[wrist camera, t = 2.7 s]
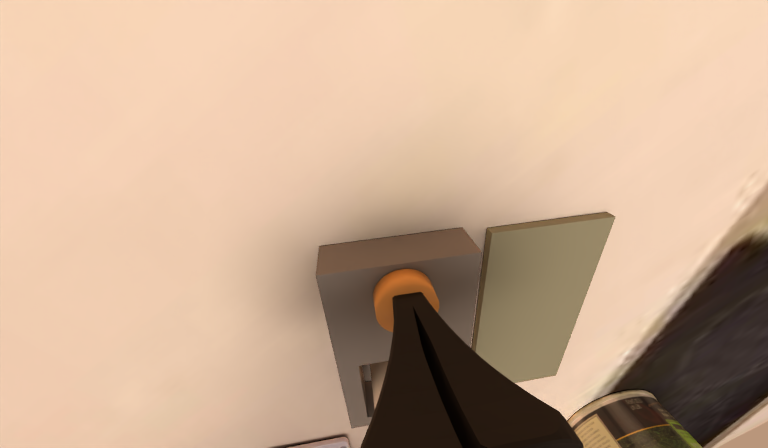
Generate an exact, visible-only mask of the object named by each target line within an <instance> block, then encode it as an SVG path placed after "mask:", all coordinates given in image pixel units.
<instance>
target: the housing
mask: <svg viewBox="0 0 768 448" xmlns="http://www.w3.org/2000/svg"><path fill="white" fill-rule="evenodd" d="M481 256H482V252H481V251H480V249H479V248H478V247H477V246H476V244H475V243H474V242H473V240H472V239H471V238H470V237H469V235H468V234H467V233H466V232H465V230H464V229H463V228H455V229H448V230H440V231H432V232H425V233H417V234H409V235H402V236H394V237H387V238H379V239H371V240H364V241H356V242H348V243H341V244H333V245H325V246H319V253H318V262H317V270H316V278H317V283H318V287H319V291H320V295H321V300H322V304H323V308H324V312H325V317H326V321H327V325H328V329H329V334H330V338H331V342H332V347H333V351H334V355H335V359H336V364H337V368H338V372H339V376H340V381H341V385H342V389H343V393H344V398H345V402H346V406H347V410H348V415H349V419H350V423H351V428H356V427H361V426H366V425H370V422H371V419H372V417H373V414H374V411H375V408H374V399H373V389H372V381H369V382H365V381H364V375H363V369H362V365H367V364H373V363H379V362H385V361H389V356H390V350H391V343H392V337H393V332H390V331H388V330H386V329H384V328H383V327H381V325H380V324H379V323H378V321H377V319H376V313H375V307H374V300H373V291H374V288H375V286H376V284H377V283H378V282H379V280H380V279H381V278H383V277H384V276H385V275H387V274H389V273H390V272H393V271H396V270H400V269H414V270H418V271H420V272H422V273H424V274H425V275H426V276H427V277H428V278H429V279H430V281H431V284H432V286H433V288H434V291H435V293H436V295H437V297H438V300H439V310H438V314H439V315H440V316H441V318H442V319H443V320H444V321H445V322H446V323H447V324H448V325H449V327H450V328H451V329H452V330H453V331H454V332H455V333H456V334H457V335H458V336H459V337H460V338H461V339H462V340H463V341H464V342H465V343H466V344H467V345H468V346H469V347H470V344H471V336H472V328H473V320H474V312H475V304H476V296H477V288H478V280H479V272H480V264H481Z"/></svg>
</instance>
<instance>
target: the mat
mask: <svg viewBox="0 0 768 448" xmlns="http://www.w3.org/2000/svg"><path fill="white" fill-rule="evenodd" d="M614 219H615V216H613V215H611V214H609V213H607V212H605V213H597V214H590V215H582V216H575V217H567V218H559V219H552V220H544V221H537V222H529V223H522V224H514V225H507V226H499V227H491V228H487V233H486V241H485V248H484V256H483V264H482V272H481V280H480V287H479V295H478V303H477V311H476V318H475V326H474V334H473V342H472V350H473V351H475V352H476V353H477V354H478V355H479V356H480V357H481V358H482V359H484V360H485V361H486V362H487V363H489V364H490V365H491V366H492V367H493V368H495V369H496V370H497V371H499V372H500V373H501V374H503V375H504V376H505V377H507V378H508V379H509V380H511V381H512V382H513V383H517V382H523V381H528V380H534V379H539V378H544V377H550V376H555V375H556V374H557V371H558V368H559V366H560V363H561V360H562V358H563V355H564V352H565V350H566V347H567V345H568V342H569V339H570V337H571V334H572V331H573V329H574V326H575V323H576V321H577V318H578V315H579V313H580V310H581V307H582V305H583V302H584V299H585V297H586V294H587V291H588V289H589V286H590V283H591V281H592V278H593V275H594V273H595V270H596V267H597V265H598V262H599V259H600V257H601V254H602V251H603V249H604V246H605V243H606V241H607V238H608V235H609V233H610V230H611V227H612V225H613V222H614Z"/></svg>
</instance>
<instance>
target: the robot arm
mask: <svg viewBox="0 0 768 448" xmlns="http://www.w3.org/2000/svg"><path fill="white" fill-rule="evenodd" d="M392 301H393V316H394V326H393V337H392V343H391V350H390V356H389V361H388V365H387V370H386V374H385V378H384V381H383V385H382V389H381V392H380V395H379V399H378V402H377V405H376V408H375V411H374V414H373V417H372V419H371V422H370V425H369V427H368V430H367V432H366V435H365V437H364V440H363V443H362V445H361V448H584V446H583V443H582V442H581V440H580V439H579V437H578V436H577V434H576V433H575V431H574V430H573V428H572V427H571V426H570V424H569V423H568V422H567V421H566V419H565V418H564V417H563V416H562V414H561V413H560V412H559V411H557V410H556V409H554V408H552V407H551V406H549V405H547V404H546V403H544V402H542V401H541V400H539V399H537V398H536V397H534V396H533V395H531V394H530V393H528V392H527V391H525V390H524V389H522V388H521V387H519V386H518V385H516V384H515V383H513V382H512V381H511V380H509V379H508V378H507V377H505V376H504V375H503V374H501V373H500V372H499V371H497V370H496V369H495V368H493V367H492V366H491V365H490V364H489V363H487V362H486V361H485V360H484V359H482V358H481V357H480V356H479V355H478V354H477V353H476V352H475V351H473V350H472V349H471V348H470V347H469V346H468V345H467V344H466V343H465V342H464V341H463V340H462V339H461V338H460V337H459V336H458V335H457V334H456V333H455V332H454V331H453V330H452V329H451V328H450V327H449V325H448V324H447V323H446V322H445V321H444V320H443V319H442V318H441V316H440V315H439V314H438V313H437V312H436V310H435V309H434V308H433V307H432V305H431V304H430V303H429V301H428V300H427V298H426V297H425V296H424V294H423V293H422V292H415V293H409V294H402V295H396V296H394V297H393V298H392ZM288 448H350V445H349V441H348V439H347V438H346V437H340V438H334V439H329V440H324V441H319V442H314V443H308V444H303V445H298V446H293V447H288Z"/></svg>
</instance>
